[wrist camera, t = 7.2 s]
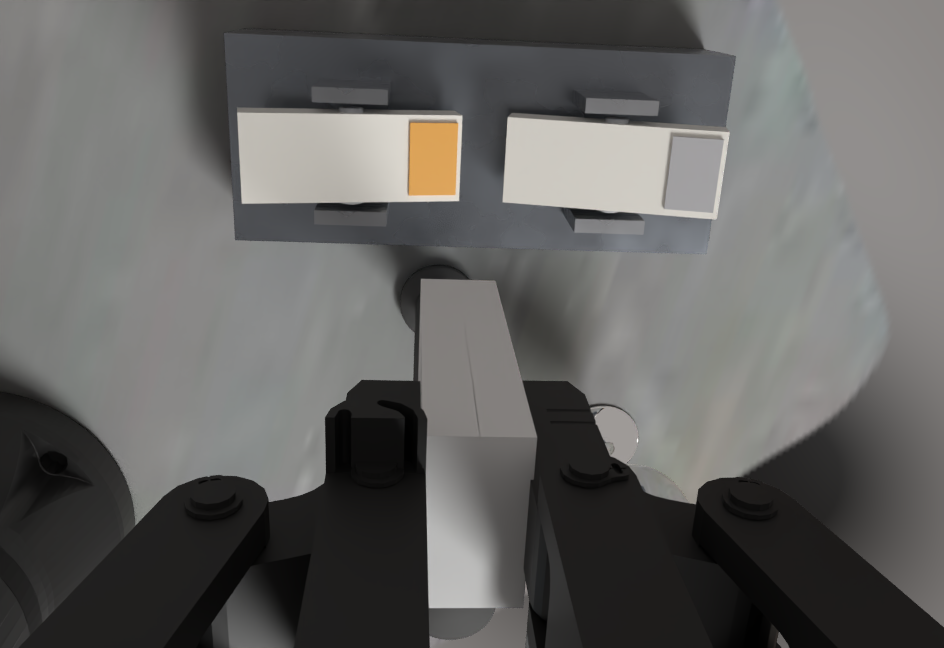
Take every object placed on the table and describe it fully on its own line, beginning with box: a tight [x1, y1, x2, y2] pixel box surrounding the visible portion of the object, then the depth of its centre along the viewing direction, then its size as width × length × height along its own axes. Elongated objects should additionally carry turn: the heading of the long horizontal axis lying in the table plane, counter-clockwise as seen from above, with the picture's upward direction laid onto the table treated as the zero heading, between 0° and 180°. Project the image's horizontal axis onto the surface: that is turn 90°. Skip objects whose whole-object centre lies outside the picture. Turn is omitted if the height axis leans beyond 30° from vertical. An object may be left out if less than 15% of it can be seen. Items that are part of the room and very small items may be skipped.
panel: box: [224, 28, 736, 254], centre depth 39 cm, size 22×9×8 cm, turn 87°
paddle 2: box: [503, 113, 730, 220], centre depth 37 cm, size 9×4×2 cm, turn 88°
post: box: [400, 265, 495, 640], centre depth 35 cm, size 4×4×24 cm
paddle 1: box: [237, 106, 462, 205], centre depth 36 cm, size 9×4×2 cm, turn 87°
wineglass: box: [590, 406, 689, 503], centre depth 44 cm, size 6×6×12 cm
